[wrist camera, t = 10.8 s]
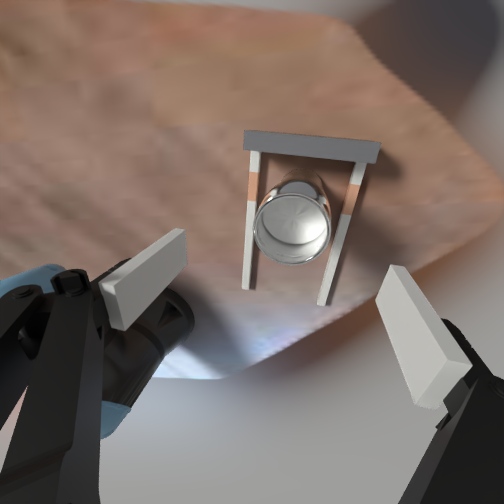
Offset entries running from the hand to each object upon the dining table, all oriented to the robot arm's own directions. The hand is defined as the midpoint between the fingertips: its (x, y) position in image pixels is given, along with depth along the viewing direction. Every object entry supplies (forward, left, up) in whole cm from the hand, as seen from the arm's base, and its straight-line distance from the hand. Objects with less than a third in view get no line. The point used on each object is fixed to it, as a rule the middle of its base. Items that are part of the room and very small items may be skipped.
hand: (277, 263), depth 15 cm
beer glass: (0, 0, -20) cm, 20 cm away
